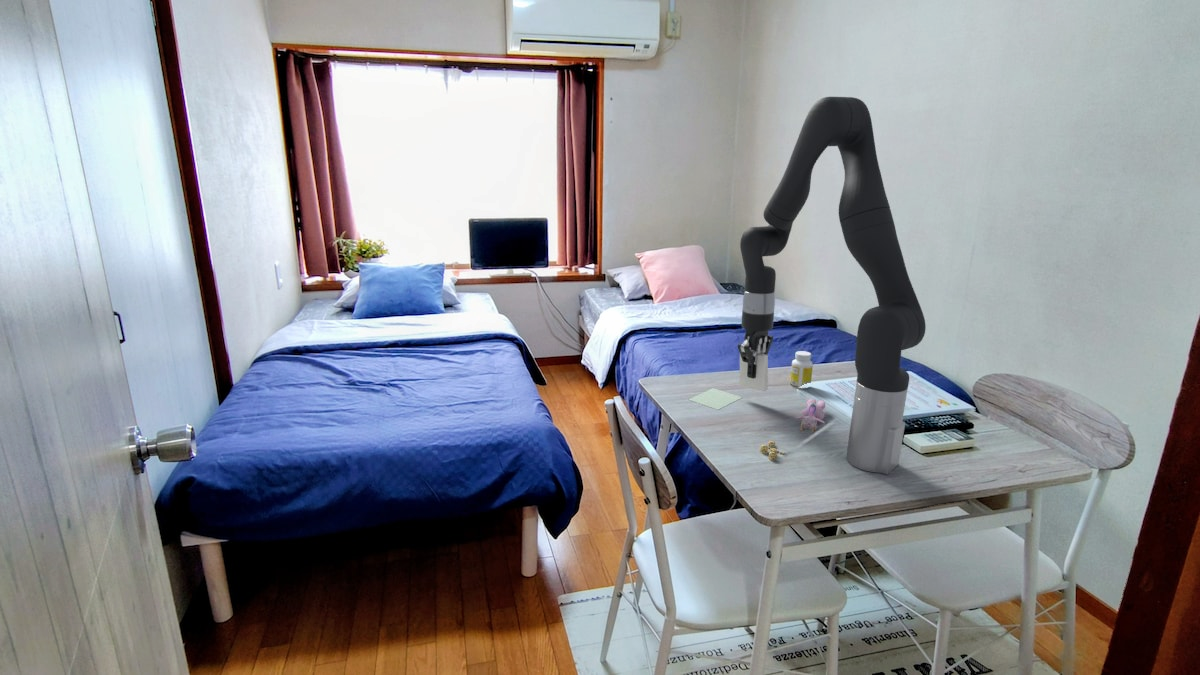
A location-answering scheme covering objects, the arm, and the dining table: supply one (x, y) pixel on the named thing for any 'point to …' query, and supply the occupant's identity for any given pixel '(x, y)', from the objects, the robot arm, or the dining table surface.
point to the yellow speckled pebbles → (772, 450)
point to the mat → (715, 398)
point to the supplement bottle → (801, 369)
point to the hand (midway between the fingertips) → (753, 376)
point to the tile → (761, 374)
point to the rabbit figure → (812, 415)
